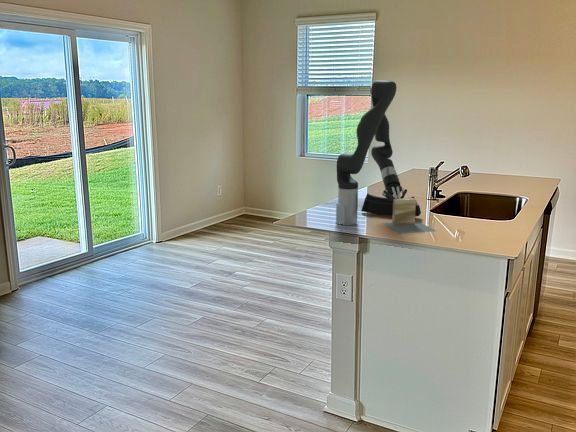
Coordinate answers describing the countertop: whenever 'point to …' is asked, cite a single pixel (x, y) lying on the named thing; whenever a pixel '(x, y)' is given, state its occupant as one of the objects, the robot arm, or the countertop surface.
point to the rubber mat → (409, 228)
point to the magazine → (382, 206)
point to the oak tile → (404, 211)
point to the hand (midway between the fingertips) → (399, 207)
